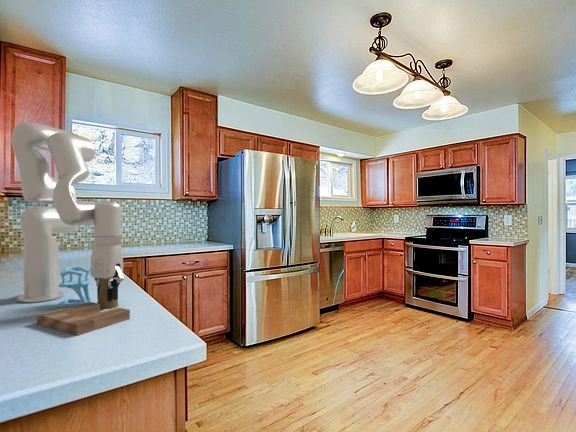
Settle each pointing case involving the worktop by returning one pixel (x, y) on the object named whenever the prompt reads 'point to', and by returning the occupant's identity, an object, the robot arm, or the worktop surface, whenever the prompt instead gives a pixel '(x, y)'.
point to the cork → (105, 295)
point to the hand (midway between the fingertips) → (107, 298)
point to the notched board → (82, 318)
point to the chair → (75, 286)
